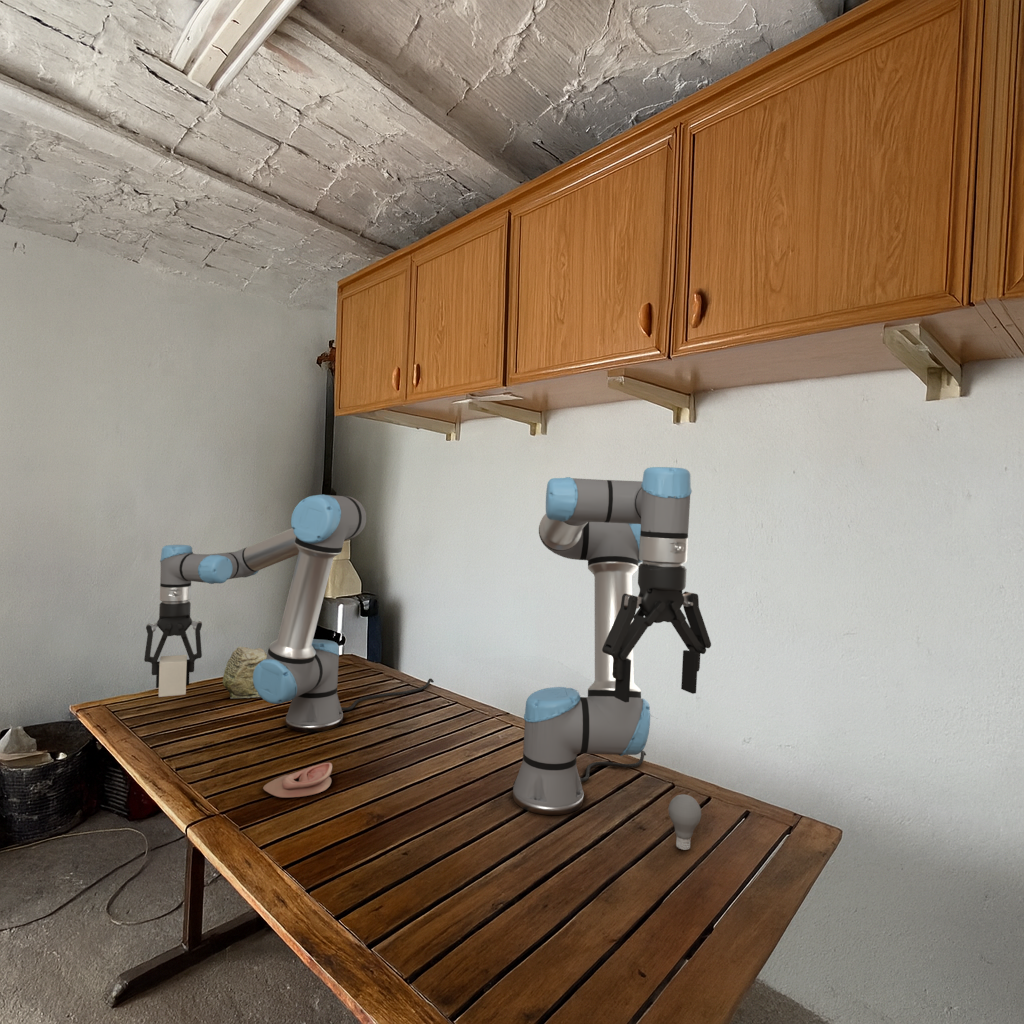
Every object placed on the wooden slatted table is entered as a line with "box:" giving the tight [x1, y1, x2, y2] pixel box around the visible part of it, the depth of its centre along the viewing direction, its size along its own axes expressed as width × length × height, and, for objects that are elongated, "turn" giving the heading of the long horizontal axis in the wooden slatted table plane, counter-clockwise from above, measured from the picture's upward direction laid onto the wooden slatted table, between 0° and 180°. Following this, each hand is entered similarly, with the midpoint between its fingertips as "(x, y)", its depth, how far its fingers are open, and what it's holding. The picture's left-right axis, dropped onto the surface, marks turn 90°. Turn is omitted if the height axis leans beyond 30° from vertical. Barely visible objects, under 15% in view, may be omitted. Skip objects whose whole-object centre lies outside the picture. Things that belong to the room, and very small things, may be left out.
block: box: [158, 654, 188, 698], centre depth 173 cm, size 8×6×9 cm
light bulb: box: [667, 793, 702, 851], centre depth 119 cm, size 6×6×10 cm
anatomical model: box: [262, 762, 333, 799], centre depth 138 cm, size 13×4×12 cm
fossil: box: [222, 646, 267, 699], centre depth 198 cm, size 9×18×15 cm, turn 132°
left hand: (172, 685), depth 174 cm, fingers closed on block, 6 cm apart
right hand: (656, 695), depth 102 cm, fingers open, 13 cm apart
